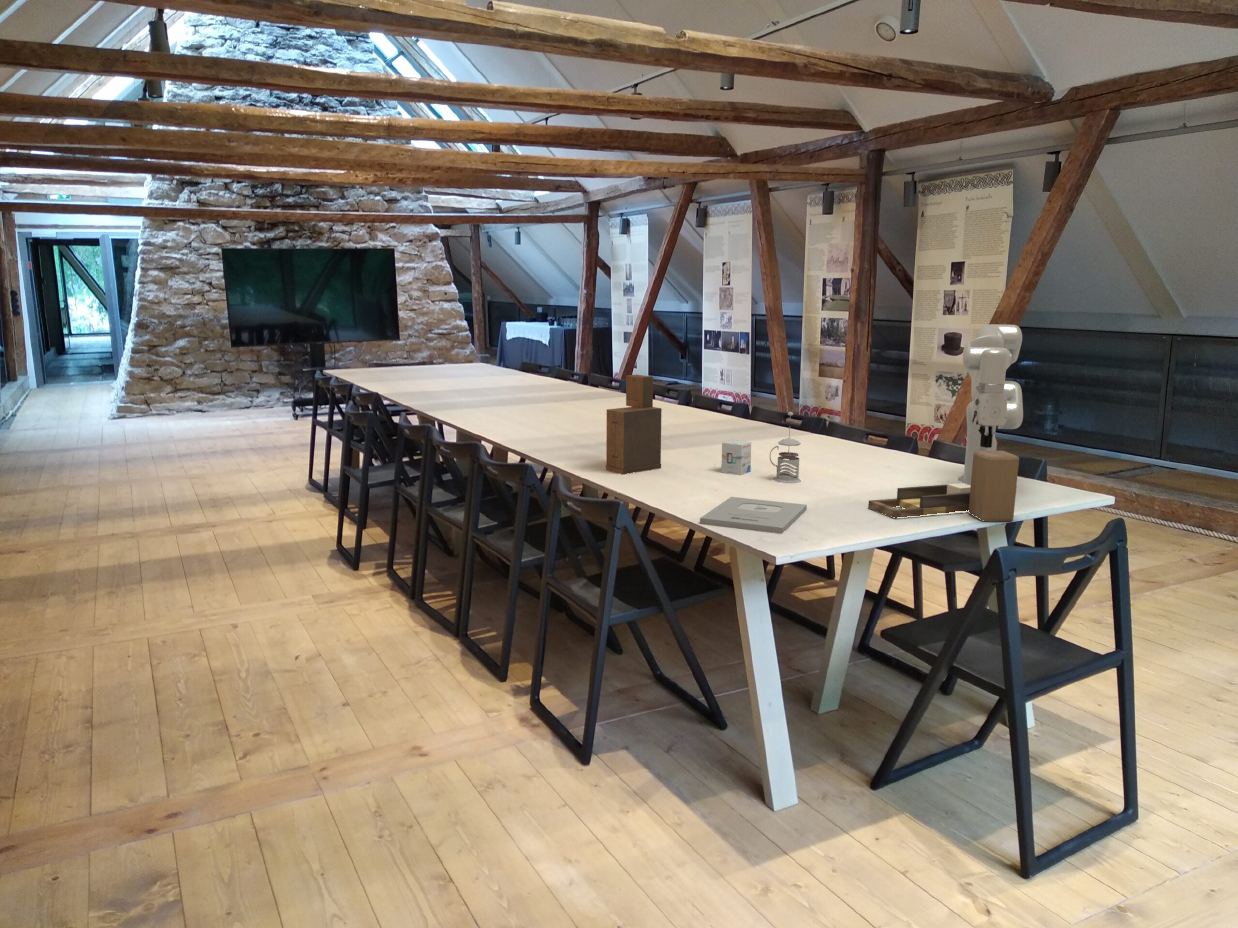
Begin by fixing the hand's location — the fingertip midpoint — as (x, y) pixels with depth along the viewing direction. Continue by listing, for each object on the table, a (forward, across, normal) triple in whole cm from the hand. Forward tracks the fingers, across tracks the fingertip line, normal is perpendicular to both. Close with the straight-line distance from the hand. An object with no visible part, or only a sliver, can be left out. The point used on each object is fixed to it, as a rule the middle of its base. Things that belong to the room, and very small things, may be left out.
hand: (985, 446), depth 272 cm
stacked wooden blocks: (+19, -88, +87) cm, 125 cm away
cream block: (+17, -8, 0) cm, 18 cm away
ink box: (+19, -53, +70) cm, 90 cm away
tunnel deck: (+19, -20, 0) cm, 27 cm away
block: (+19, -8, -14) cm, 25 cm away
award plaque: (+20, -76, +8) cm, 79 cm away
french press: (+19, -42, +52) cm, 70 cm away
